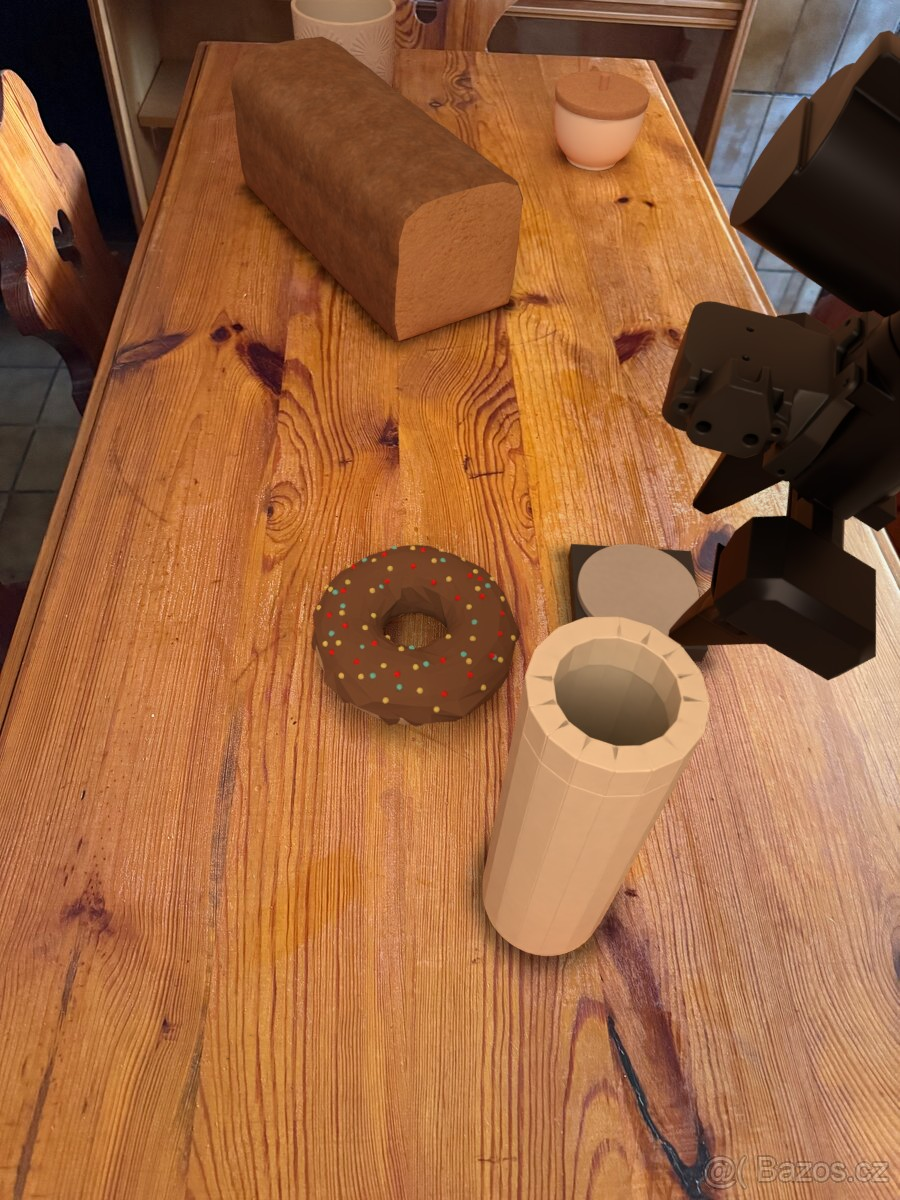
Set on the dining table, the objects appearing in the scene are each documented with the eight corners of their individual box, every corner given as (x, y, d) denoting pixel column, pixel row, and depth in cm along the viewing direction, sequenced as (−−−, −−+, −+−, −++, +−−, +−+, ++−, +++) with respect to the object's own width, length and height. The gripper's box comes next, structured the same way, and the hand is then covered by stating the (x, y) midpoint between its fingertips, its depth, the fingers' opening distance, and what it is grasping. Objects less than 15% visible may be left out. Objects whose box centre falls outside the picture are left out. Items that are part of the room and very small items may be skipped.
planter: (368, 74, 119) (366, -22, 110) (413, 112, 112) (414, 14, 104) (282, 90, 114) (273, -8, 106) (324, 130, 108) (318, 30, 100)
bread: (393, 350, 82) (393, 201, 71) (239, 185, 99) (219, 44, 88) (517, 308, 87) (535, 162, 76) (350, 158, 104) (344, 21, 93)
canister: (626, 924, 50) (746, 729, 33) (517, 977, 48) (585, 800, 31) (564, 818, 54) (644, 594, 37) (461, 864, 52) (494, 649, 35)
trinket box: (566, 130, 111) (578, 47, 104) (647, 152, 109) (665, 68, 101) (532, 165, 105) (543, 80, 98) (617, 189, 103) (634, 103, 95)
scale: (702, 664, 62) (711, 646, 60) (573, 657, 62) (578, 639, 60) (685, 564, 67) (693, 545, 66) (567, 557, 67) (572, 538, 66)
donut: (291, 604, 63) (284, 559, 59) (469, 558, 67) (474, 512, 63) (350, 776, 55) (347, 736, 51) (549, 713, 59) (560, 671, 55)
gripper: (790, 137, 38) (592, 380, 50) (754, 407, 26) (509, 636, 39) (989, 278, 40) (751, 479, 52) (1034, 586, 28) (717, 750, 41)
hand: (688, 569), depth 46 cm, fingers open, 9 cm apart
